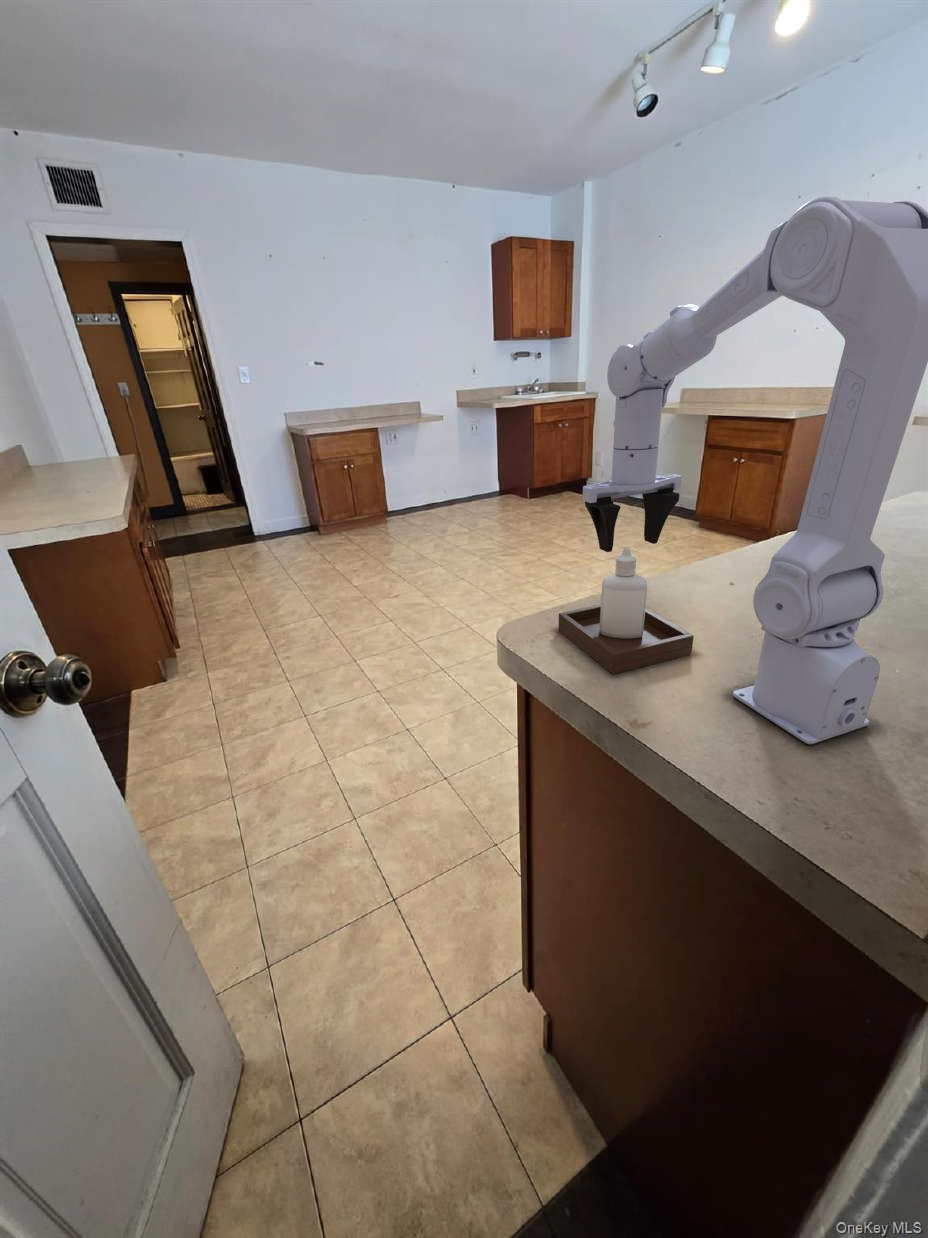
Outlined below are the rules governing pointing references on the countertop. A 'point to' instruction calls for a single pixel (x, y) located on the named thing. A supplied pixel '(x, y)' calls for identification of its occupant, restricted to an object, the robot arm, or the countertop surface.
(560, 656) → the countertop surface
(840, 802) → the countertop surface
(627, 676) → the countertop surface
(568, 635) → the tray
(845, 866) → the countertop surface
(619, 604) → the eye dropper bottle
